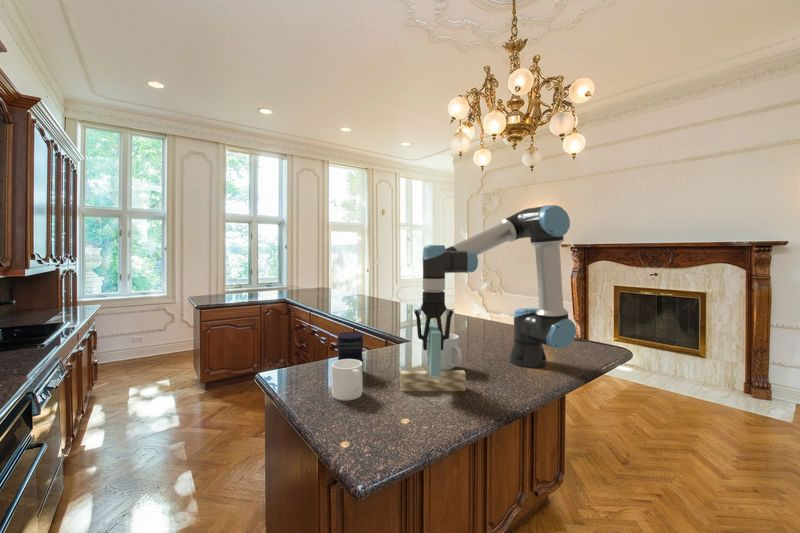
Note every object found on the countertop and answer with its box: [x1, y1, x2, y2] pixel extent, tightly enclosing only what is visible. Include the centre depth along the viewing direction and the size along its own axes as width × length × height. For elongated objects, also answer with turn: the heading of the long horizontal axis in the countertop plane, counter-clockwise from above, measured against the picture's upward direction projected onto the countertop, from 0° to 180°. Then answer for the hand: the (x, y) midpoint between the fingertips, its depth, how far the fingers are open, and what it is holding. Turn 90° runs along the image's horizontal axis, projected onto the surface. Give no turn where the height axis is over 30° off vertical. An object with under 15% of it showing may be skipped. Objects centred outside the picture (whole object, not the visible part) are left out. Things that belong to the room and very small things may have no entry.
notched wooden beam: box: [399, 369, 467, 392], centre depth 121 cm, size 22×3×6 cm, turn 91°
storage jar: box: [336, 331, 364, 375], centre depth 136 cm, size 10×10×15 cm
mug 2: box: [441, 332, 463, 371], centre depth 141 cm, size 15×11×13 cm
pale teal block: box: [425, 321, 442, 377], centre depth 120 cm, size 16×3×14 cm, turn 1°
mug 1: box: [331, 359, 363, 402], centre depth 115 cm, size 13×10×10 cm
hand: (433, 359), depth 120 cm, fingers closed on pale teal block, 3 cm apart
